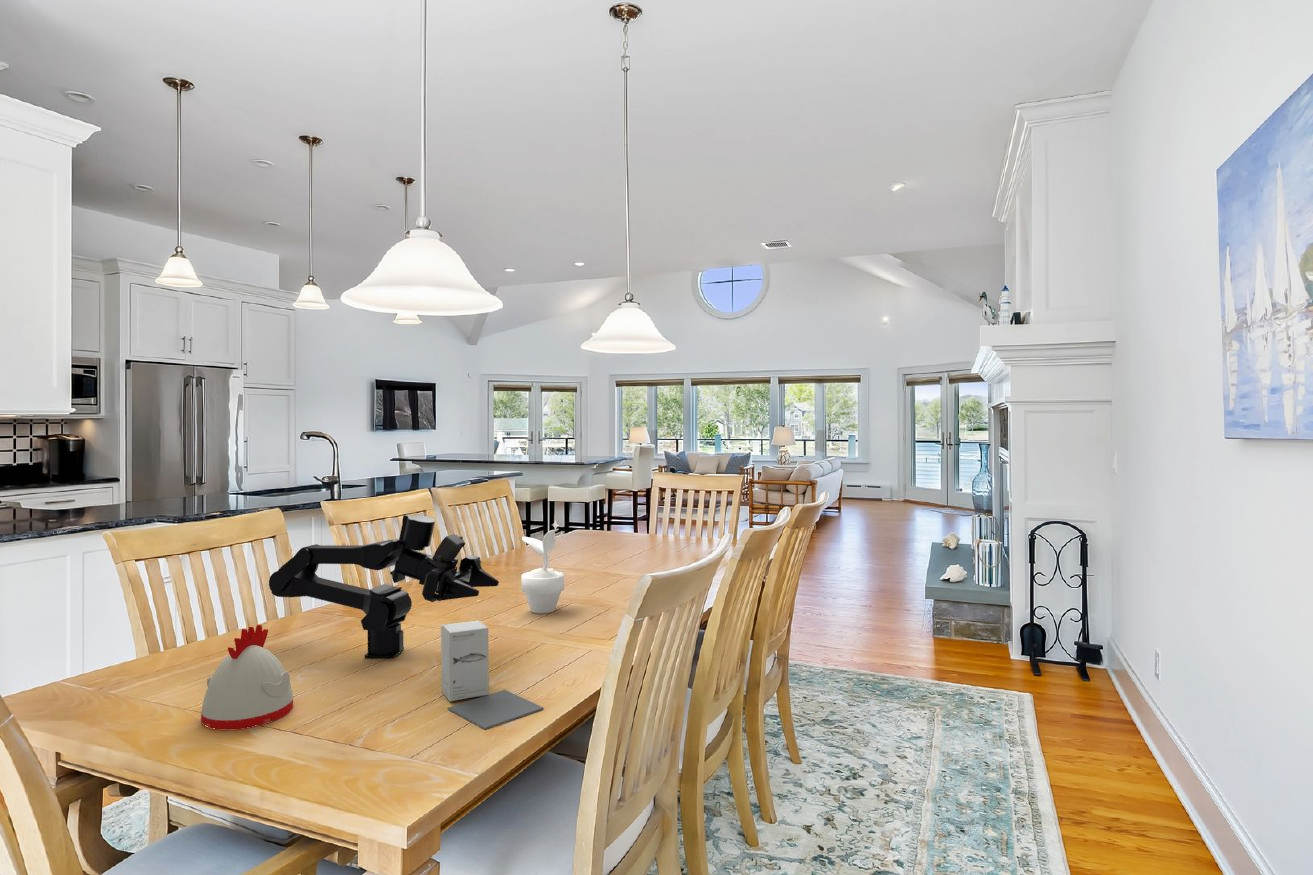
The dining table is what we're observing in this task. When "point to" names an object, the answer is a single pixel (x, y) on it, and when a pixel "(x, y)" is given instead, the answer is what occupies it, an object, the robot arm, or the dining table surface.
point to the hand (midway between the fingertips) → (488, 588)
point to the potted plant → (543, 577)
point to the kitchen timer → (247, 686)
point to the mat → (495, 709)
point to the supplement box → (464, 660)
